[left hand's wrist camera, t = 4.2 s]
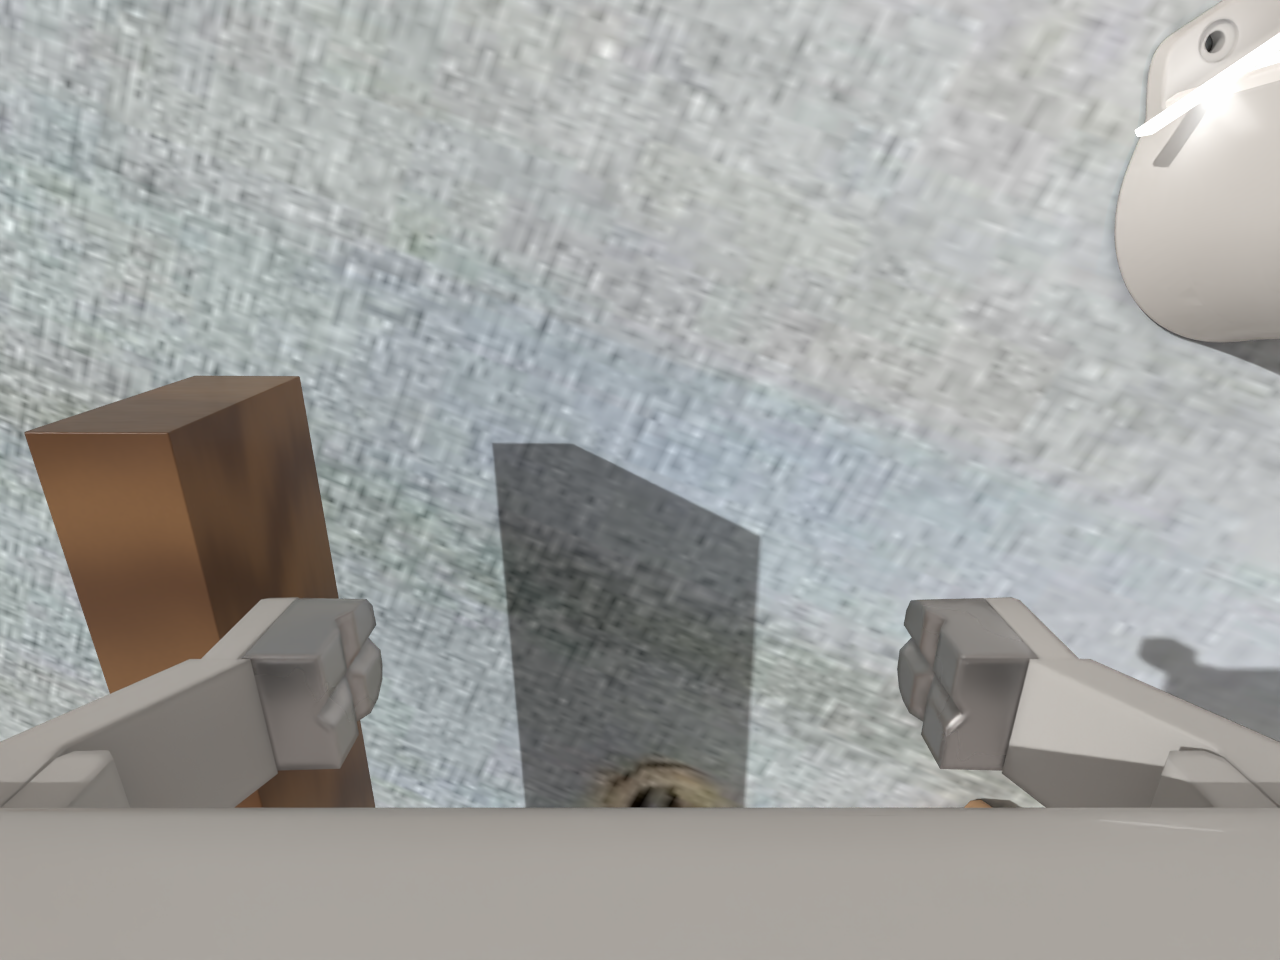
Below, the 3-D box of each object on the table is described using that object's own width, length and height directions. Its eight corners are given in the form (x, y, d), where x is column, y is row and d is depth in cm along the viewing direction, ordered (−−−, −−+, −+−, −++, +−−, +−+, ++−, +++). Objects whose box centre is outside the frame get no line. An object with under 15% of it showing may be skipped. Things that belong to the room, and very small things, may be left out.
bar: (194, 375, 30) (22, 431, 21) (300, 376, 29) (168, 432, 21) (304, 854, 39) (215, 1016, 31) (384, 855, 39) (315, 1018, 31)
